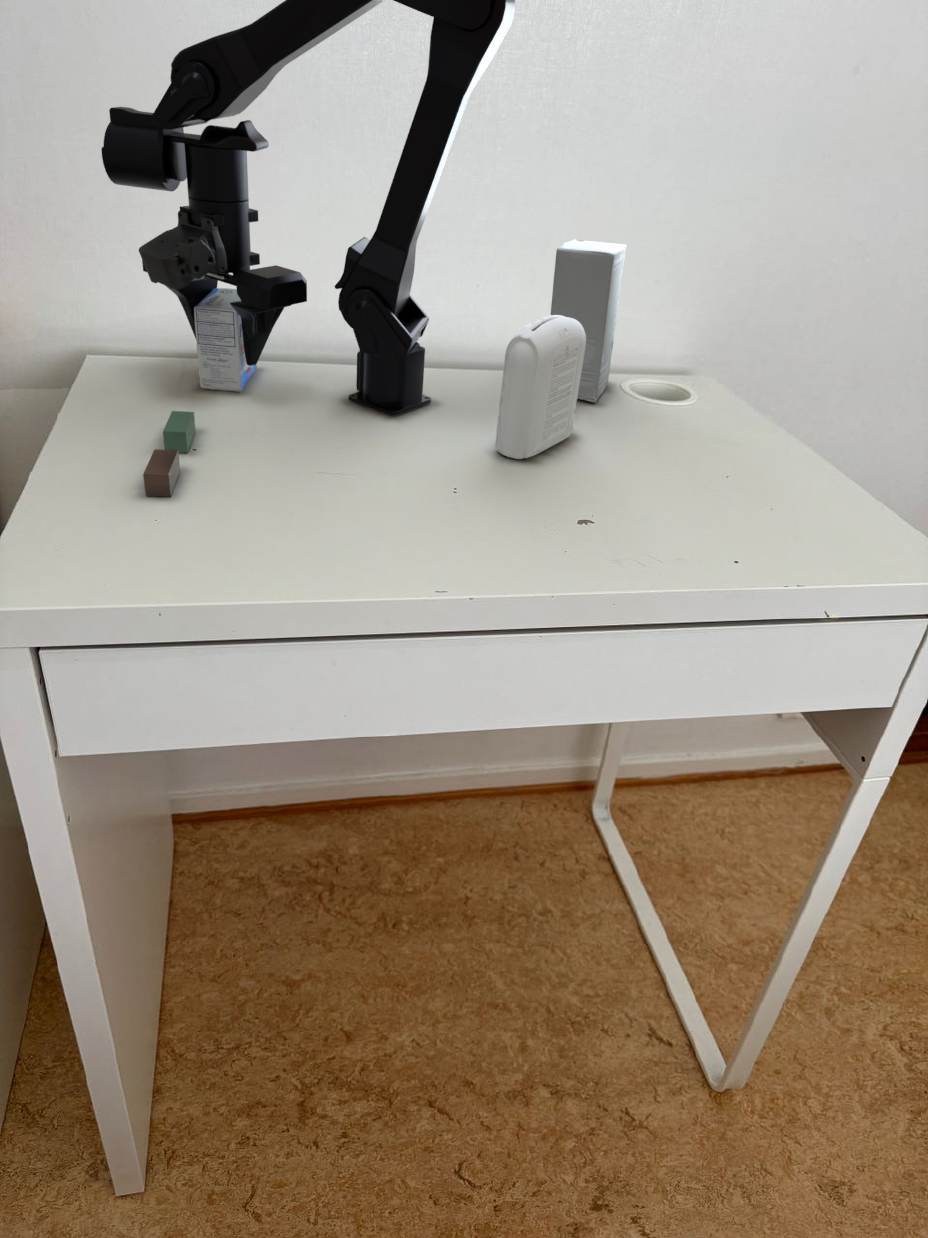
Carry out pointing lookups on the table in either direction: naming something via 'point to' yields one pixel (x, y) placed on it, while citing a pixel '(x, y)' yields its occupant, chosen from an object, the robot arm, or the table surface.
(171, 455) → the walnut bar
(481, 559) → the table surface
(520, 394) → the photo printer
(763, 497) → the table surface
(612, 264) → the cosmetic box
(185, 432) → the sage bar
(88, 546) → the table surface
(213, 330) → the medicine box
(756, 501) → the table surface
